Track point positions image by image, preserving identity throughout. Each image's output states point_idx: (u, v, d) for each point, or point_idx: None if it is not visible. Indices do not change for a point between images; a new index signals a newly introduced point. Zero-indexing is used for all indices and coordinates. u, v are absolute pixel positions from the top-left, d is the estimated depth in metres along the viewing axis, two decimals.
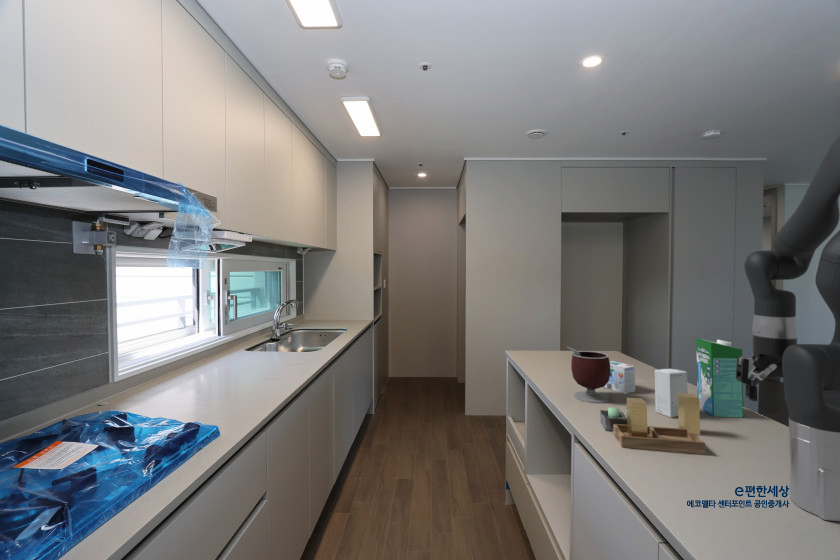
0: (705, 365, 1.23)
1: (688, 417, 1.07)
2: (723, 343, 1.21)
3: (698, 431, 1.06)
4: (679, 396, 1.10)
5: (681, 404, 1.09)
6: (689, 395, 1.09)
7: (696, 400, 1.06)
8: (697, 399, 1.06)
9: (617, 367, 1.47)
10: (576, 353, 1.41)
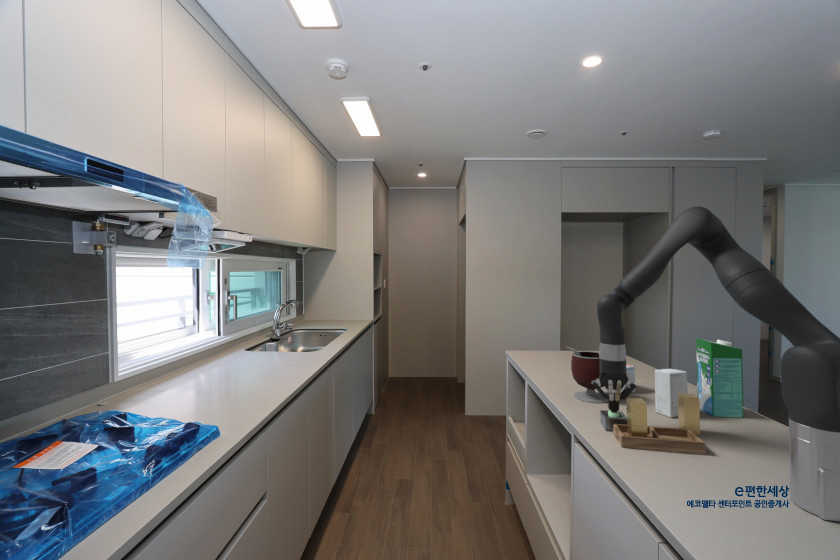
0: (705, 365, 1.23)
1: (688, 417, 1.07)
2: (723, 343, 1.21)
3: (698, 431, 1.06)
4: (679, 396, 1.10)
5: (681, 404, 1.09)
6: (689, 395, 1.09)
7: (696, 400, 1.06)
8: (697, 399, 1.06)
9: None
10: (576, 353, 1.41)
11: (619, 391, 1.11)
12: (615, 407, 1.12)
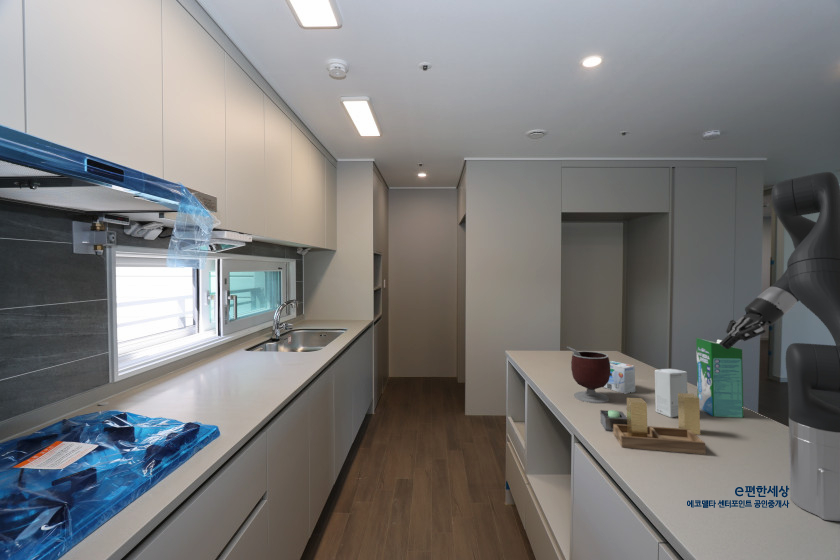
0: (705, 365, 1.23)
1: (688, 417, 1.07)
2: None
3: (698, 431, 1.06)
4: (679, 396, 1.10)
5: (681, 404, 1.09)
6: (689, 395, 1.09)
7: (696, 400, 1.06)
8: (697, 399, 1.06)
9: (617, 367, 1.47)
10: (576, 353, 1.41)
11: (740, 326, 1.06)
12: (725, 340, 1.08)
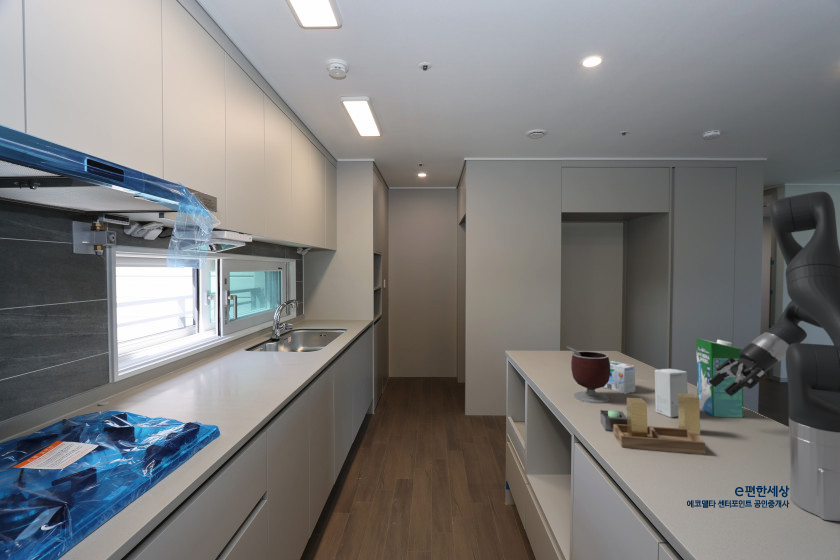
0: (705, 365, 1.23)
1: (688, 417, 1.07)
2: (723, 343, 1.21)
3: (698, 431, 1.06)
4: (679, 396, 1.10)
5: (681, 404, 1.09)
6: (689, 395, 1.09)
7: (696, 400, 1.06)
8: (697, 399, 1.06)
9: (617, 367, 1.47)
10: (576, 353, 1.41)
11: (739, 372, 1.02)
12: (729, 386, 1.03)
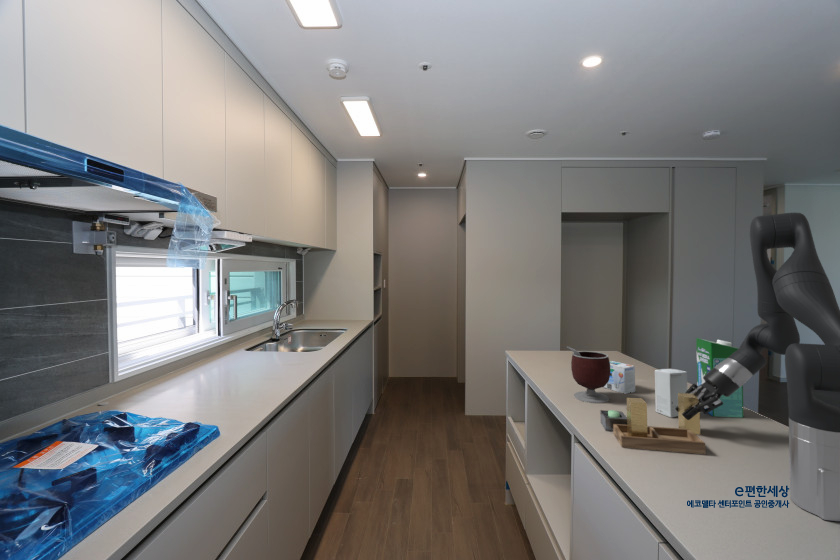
0: (705, 365, 1.23)
1: None
2: (723, 343, 1.21)
3: (698, 431, 1.06)
4: (679, 396, 1.10)
5: (681, 404, 1.09)
6: (689, 395, 1.09)
7: (696, 400, 1.06)
8: None
9: (617, 367, 1.47)
10: (576, 353, 1.41)
11: (699, 397, 1.06)
12: (686, 410, 1.07)
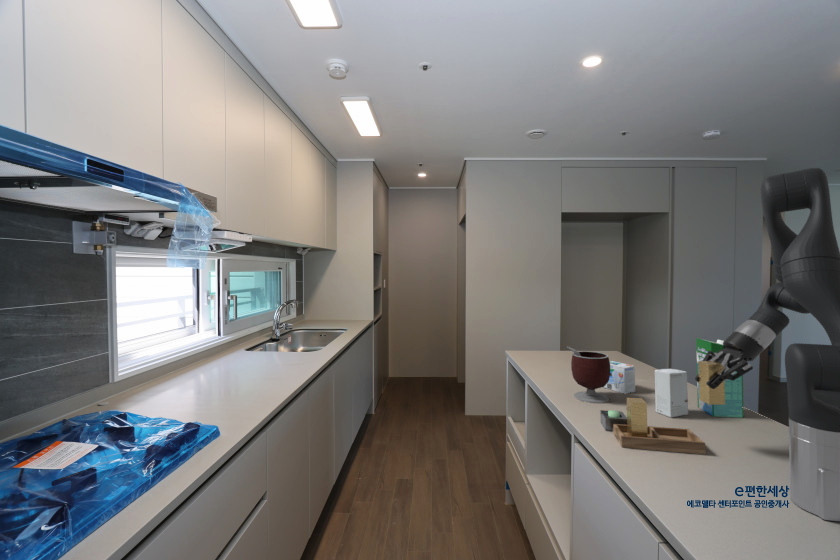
0: None
1: None
2: None
3: (723, 400, 0.98)
4: (700, 364, 1.01)
5: (704, 373, 0.99)
6: (711, 362, 1.00)
7: None
8: None
9: (617, 367, 1.47)
10: (576, 353, 1.41)
11: (724, 363, 0.97)
12: (711, 379, 0.98)
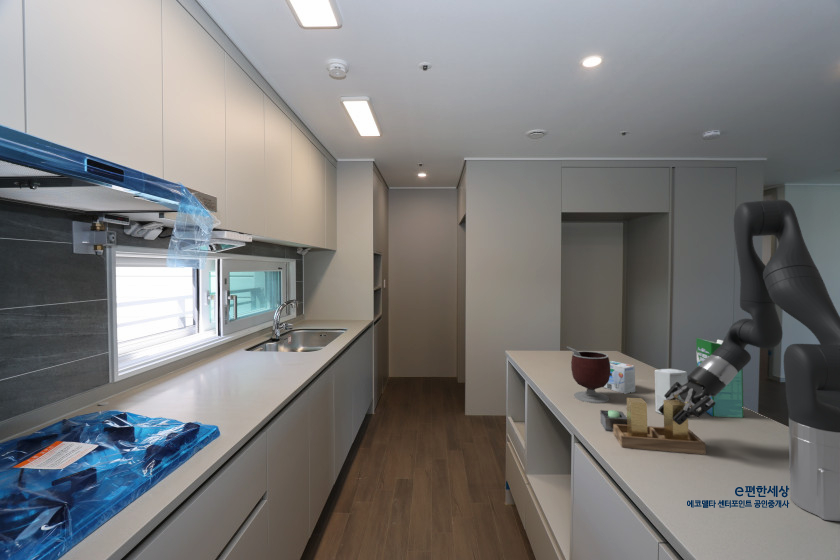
0: None
1: (676, 427, 0.98)
2: None
3: None
4: (665, 403, 1.01)
5: (668, 412, 1.00)
6: (676, 402, 1.00)
7: None
8: None
9: (617, 367, 1.47)
10: (576, 353, 1.41)
11: (688, 399, 0.97)
12: (677, 414, 0.97)
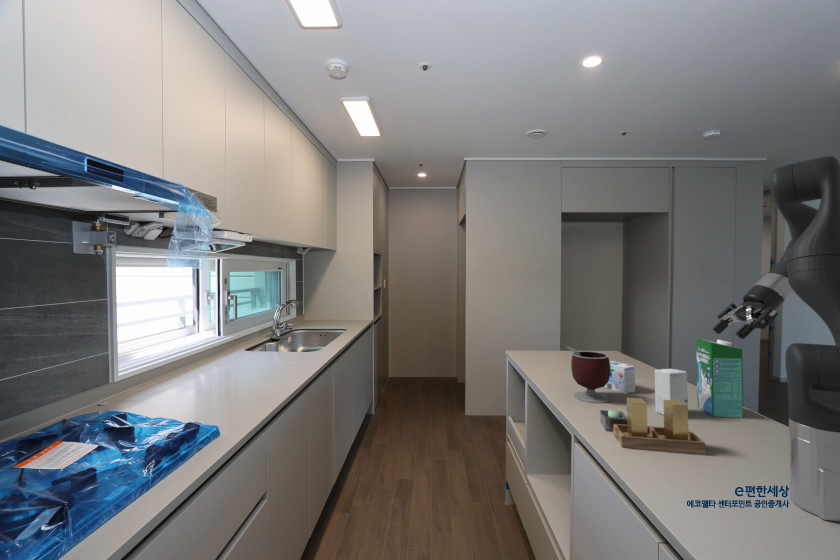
0: (705, 365, 1.23)
1: (676, 427, 0.98)
2: (723, 343, 1.21)
3: None
4: (665, 403, 1.01)
5: (668, 412, 1.00)
6: (676, 402, 1.00)
7: (684, 407, 0.98)
8: (685, 406, 0.98)
9: (617, 367, 1.47)
10: (576, 353, 1.41)
11: (749, 314, 0.98)
12: (740, 329, 0.97)
